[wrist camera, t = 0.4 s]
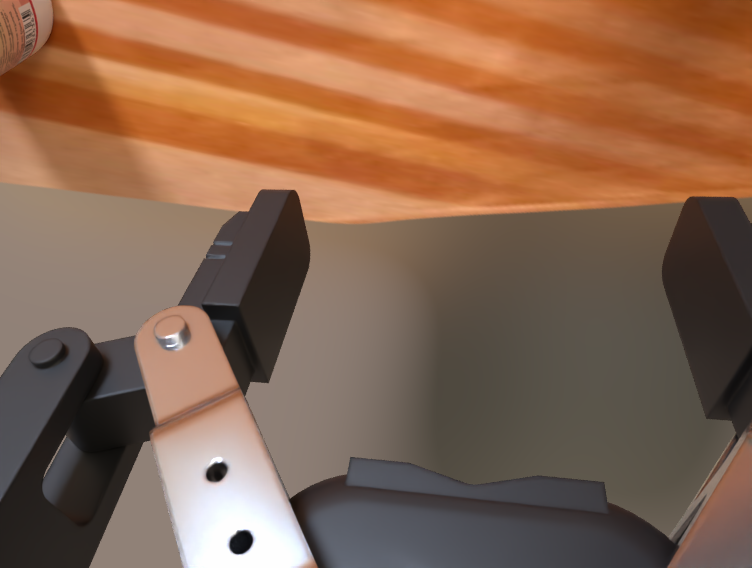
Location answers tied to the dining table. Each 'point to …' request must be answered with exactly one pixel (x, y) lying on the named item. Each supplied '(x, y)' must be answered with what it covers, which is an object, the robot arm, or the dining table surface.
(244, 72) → the dining table surface
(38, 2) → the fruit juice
